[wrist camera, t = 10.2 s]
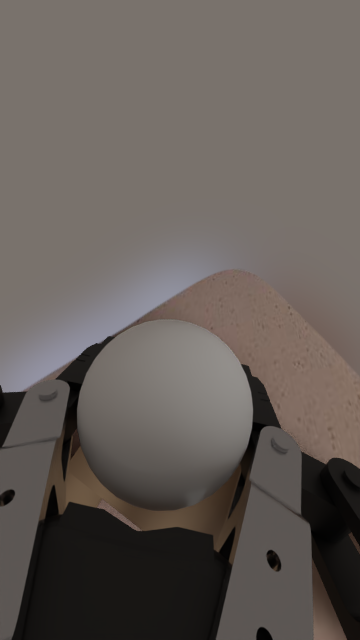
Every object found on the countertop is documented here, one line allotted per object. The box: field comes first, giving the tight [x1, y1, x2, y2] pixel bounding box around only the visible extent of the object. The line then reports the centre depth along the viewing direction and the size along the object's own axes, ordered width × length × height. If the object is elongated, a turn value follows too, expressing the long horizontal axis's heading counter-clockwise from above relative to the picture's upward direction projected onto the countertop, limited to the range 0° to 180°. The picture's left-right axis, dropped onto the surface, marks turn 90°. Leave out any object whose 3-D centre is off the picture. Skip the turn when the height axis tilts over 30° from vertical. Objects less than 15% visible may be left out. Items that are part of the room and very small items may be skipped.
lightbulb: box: [77, 319, 253, 511], centre depth 10 cm, size 6×6×11 cm
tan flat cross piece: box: [65, 445, 241, 549], centre depth 17 cm, size 24×24×2 cm
